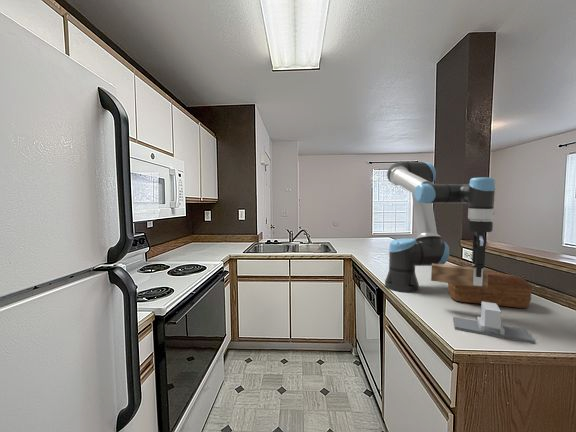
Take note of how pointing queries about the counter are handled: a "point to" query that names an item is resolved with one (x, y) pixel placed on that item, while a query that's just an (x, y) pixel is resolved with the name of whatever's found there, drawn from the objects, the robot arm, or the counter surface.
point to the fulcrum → (492, 325)
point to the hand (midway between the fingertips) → (476, 283)
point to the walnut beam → (456, 275)
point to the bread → (495, 291)
